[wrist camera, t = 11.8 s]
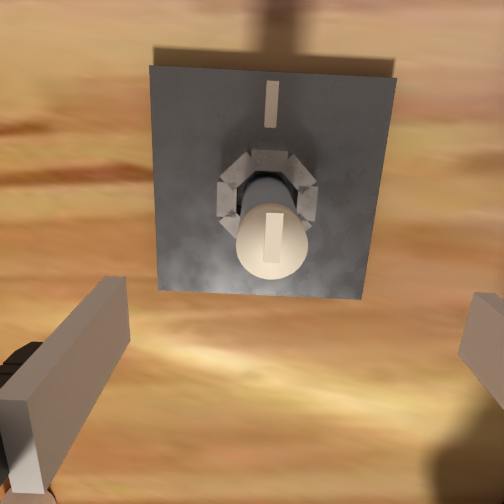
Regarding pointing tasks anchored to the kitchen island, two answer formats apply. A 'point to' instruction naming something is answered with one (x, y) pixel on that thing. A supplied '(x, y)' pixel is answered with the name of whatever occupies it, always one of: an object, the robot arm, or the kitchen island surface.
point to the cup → (28, 498)
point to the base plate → (266, 160)
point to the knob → (270, 229)
